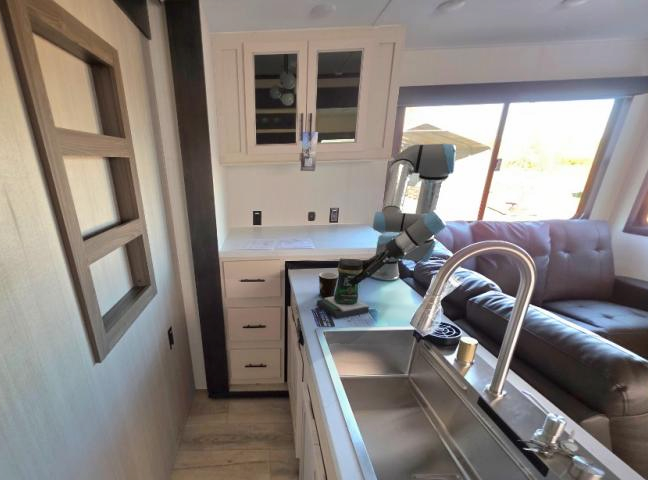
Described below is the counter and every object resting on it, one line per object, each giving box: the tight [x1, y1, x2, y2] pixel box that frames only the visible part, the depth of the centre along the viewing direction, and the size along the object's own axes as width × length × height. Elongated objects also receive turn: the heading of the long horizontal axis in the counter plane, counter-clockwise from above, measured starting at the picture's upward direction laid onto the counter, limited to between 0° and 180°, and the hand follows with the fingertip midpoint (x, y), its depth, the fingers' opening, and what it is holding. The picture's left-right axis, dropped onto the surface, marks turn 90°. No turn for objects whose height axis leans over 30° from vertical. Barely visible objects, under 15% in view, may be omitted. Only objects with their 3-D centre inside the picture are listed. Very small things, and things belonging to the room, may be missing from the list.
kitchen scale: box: [316, 296, 370, 320], centre depth 133 cm, size 16×14×3 cm
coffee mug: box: [318, 271, 339, 299], centre depth 146 cm, size 12×9×10 cm
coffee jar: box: [334, 257, 363, 304], centre depth 129 cm, size 10×8×19 cm
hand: (353, 278), depth 128 cm, fingers open, 13 cm apart
